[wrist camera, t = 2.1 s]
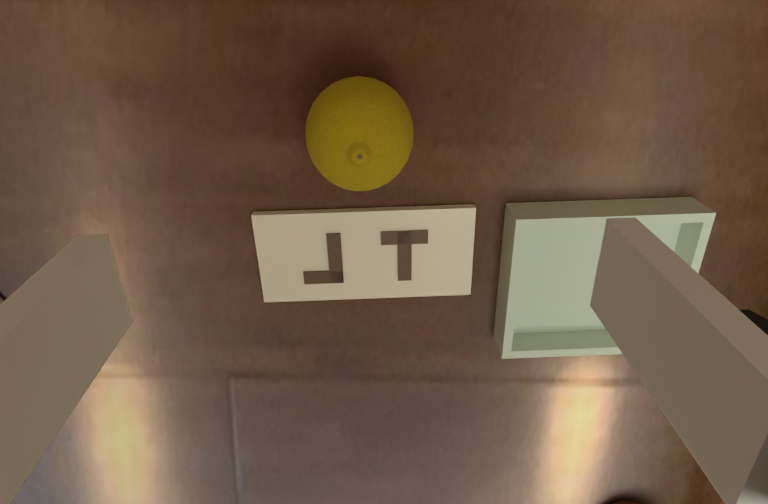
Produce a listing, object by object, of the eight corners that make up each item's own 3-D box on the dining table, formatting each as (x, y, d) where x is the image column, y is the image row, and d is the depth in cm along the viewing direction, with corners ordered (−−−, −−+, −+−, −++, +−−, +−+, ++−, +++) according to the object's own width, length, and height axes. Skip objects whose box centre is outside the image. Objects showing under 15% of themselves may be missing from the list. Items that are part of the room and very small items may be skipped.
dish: (493, 335, 38) (501, 358, 36) (505, 203, 33) (516, 219, 31) (656, 329, 38) (675, 351, 36) (691, 196, 33) (716, 212, 31)
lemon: (407, 160, 32) (419, 212, 25) (315, 162, 32) (301, 215, 24) (408, 64, 29) (422, 92, 22) (308, 66, 29) (291, 94, 22)
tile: (265, 297, 36) (263, 303, 35) (252, 211, 33) (250, 216, 32) (469, 290, 36) (470, 296, 35) (474, 204, 33) (476, 208, 33)
